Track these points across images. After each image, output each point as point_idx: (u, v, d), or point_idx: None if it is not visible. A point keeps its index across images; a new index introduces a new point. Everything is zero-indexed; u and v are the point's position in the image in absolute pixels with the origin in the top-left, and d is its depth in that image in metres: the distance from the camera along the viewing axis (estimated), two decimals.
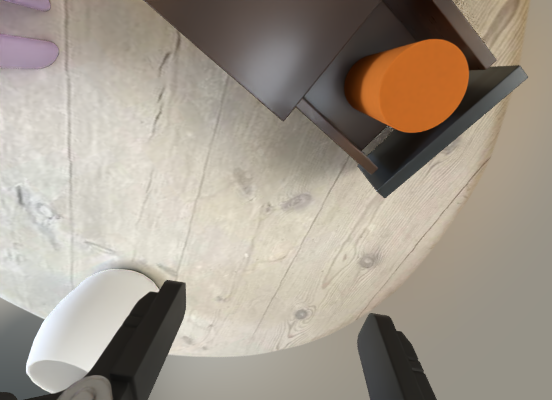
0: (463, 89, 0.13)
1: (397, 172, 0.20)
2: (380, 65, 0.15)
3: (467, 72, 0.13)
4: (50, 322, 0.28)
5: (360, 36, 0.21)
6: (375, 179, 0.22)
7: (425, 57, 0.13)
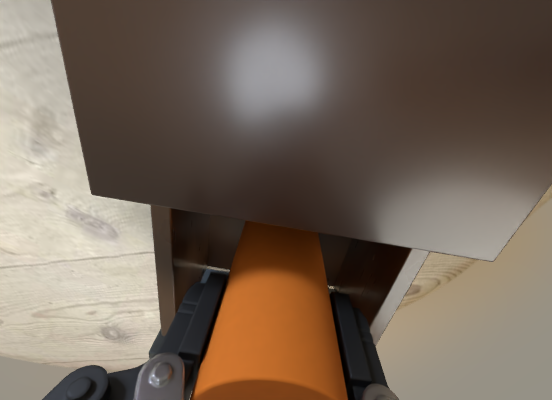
0: None
1: None
2: (273, 321, 0.07)
3: None
4: None
5: None
6: None
7: None
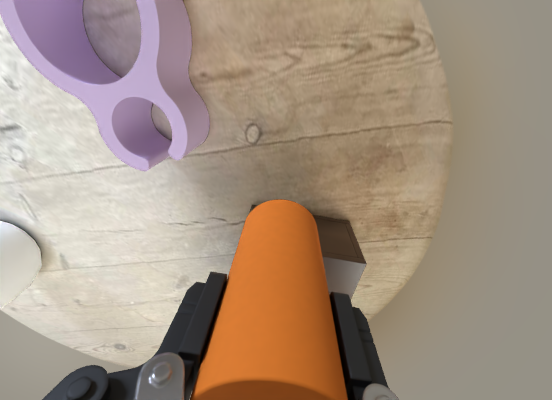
0: None
1: None
2: (273, 321, 0.07)
3: None
4: None
5: None
6: None
7: None
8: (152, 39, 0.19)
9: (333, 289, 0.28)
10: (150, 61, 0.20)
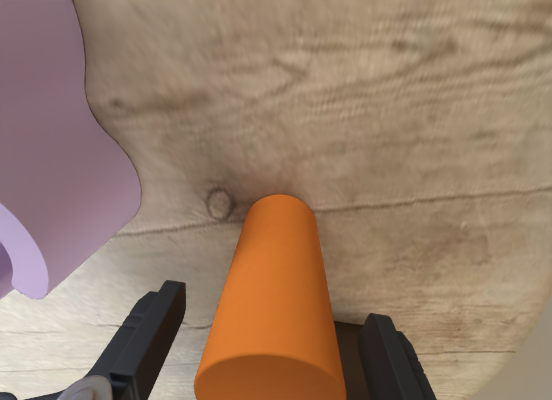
0: None
1: None
2: (273, 304, 0.08)
3: None
4: None
5: None
6: None
7: (309, 384, 0.07)
8: None
9: None
10: None
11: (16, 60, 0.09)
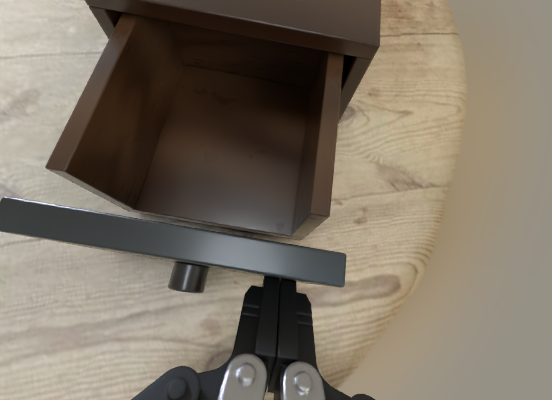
0: None
1: (67, 208, 0.09)
2: None
3: None
4: None
5: (266, 122, 0.17)
6: None
7: None
8: None
9: None
10: None
11: None
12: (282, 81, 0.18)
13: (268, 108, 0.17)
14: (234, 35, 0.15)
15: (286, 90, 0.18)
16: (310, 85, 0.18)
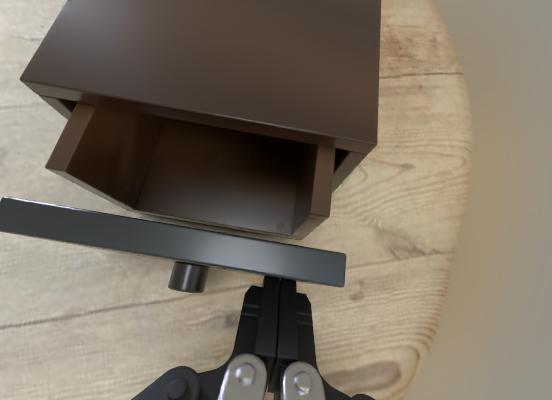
0: None
1: (67, 209, 0.09)
2: None
3: None
4: None
5: None
6: None
7: None
8: None
9: None
10: None
11: None
12: None
13: None
14: None
15: None
16: None
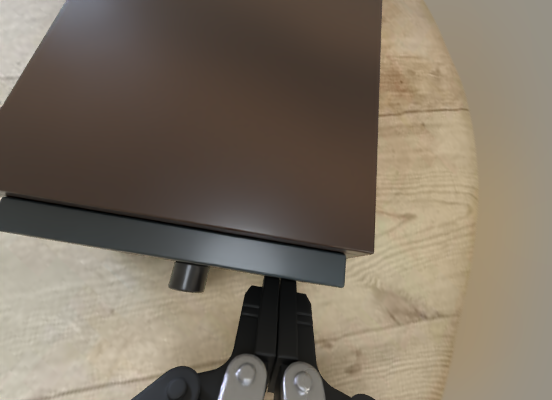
0: None
1: (67, 208, 0.09)
2: None
3: None
4: None
5: None
6: None
7: None
8: None
9: (331, 5, 0.11)
10: None
11: None
12: None
13: None
14: None
15: None
16: None
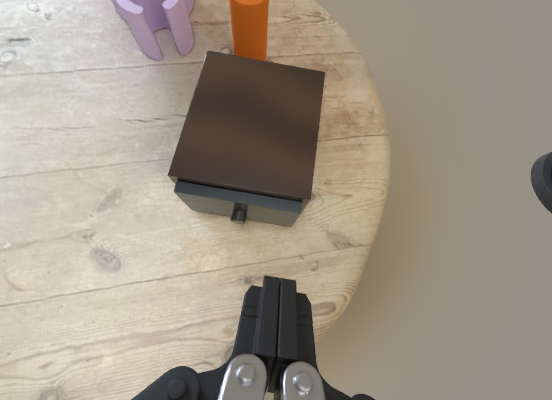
0: (257, 2, 0.28)
1: (200, 185, 0.24)
2: None
3: (264, 2, 0.29)
4: None
5: None
6: None
7: None
8: None
9: (299, 99, 0.26)
10: None
11: None
12: None
13: None
14: None
15: None
16: None
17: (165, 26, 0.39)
